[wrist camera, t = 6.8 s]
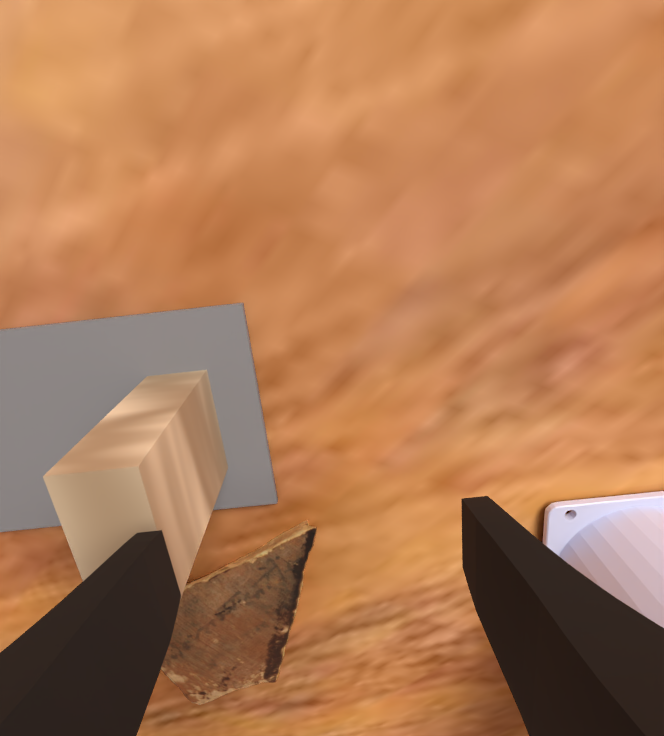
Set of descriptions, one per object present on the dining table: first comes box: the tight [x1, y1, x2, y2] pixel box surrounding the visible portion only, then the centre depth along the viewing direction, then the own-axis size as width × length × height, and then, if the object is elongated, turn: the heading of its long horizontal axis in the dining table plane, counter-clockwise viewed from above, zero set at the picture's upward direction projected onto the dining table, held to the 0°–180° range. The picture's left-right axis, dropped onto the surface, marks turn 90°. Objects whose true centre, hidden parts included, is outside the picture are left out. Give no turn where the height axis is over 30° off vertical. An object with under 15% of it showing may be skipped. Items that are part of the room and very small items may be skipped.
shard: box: [161, 520, 317, 705], centre depth 22 cm, size 11×8×2 cm
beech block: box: [43, 370, 228, 600], centre depth 15 cm, size 2×4×7 cm, turn 6°
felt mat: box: [0, 303, 278, 532], centre depth 19 cm, size 14×9×1 cm, turn 96°
